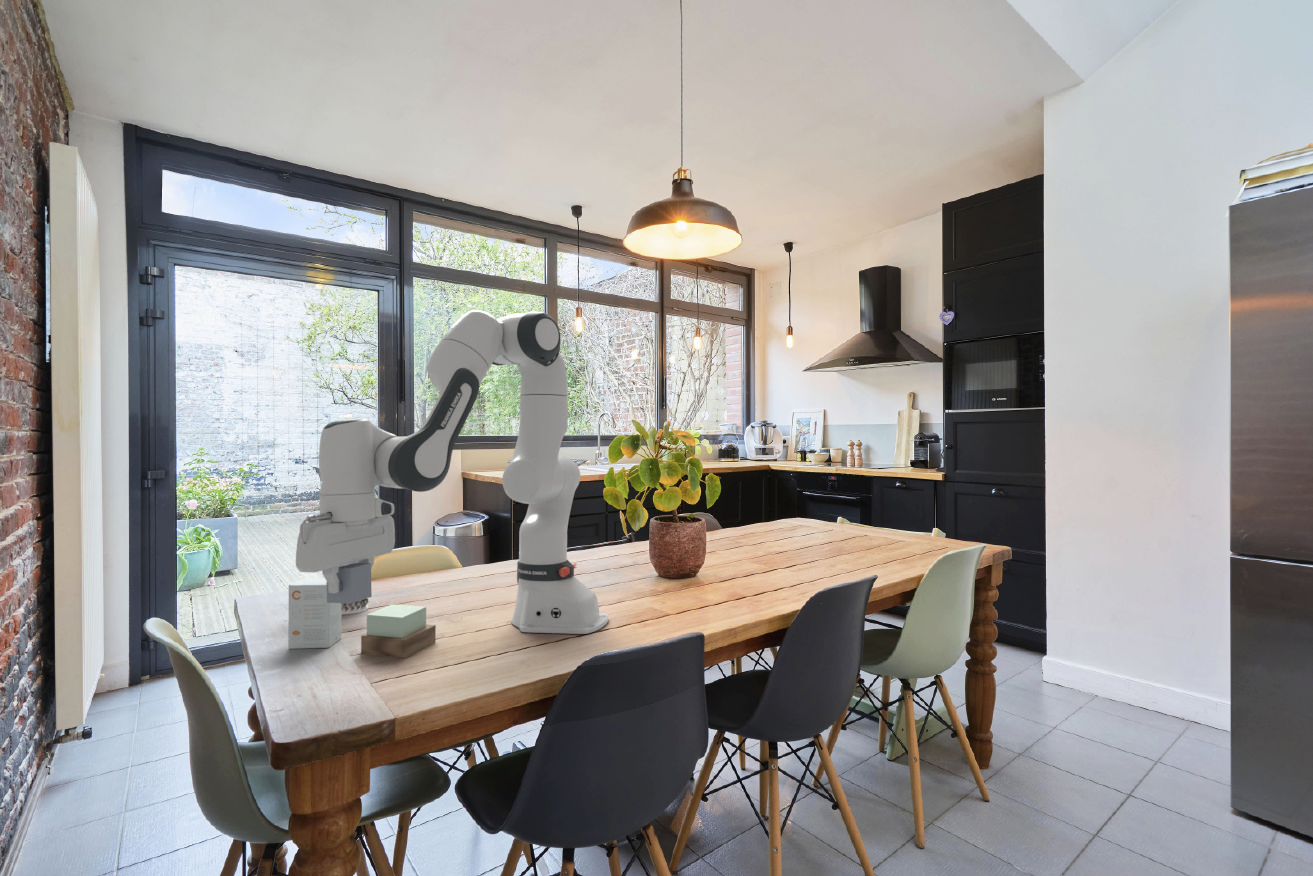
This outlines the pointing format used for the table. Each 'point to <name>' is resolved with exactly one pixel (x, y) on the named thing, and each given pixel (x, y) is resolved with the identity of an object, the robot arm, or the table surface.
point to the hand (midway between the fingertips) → (349, 588)
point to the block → (352, 583)
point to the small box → (312, 615)
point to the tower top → (396, 621)
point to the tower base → (398, 643)
